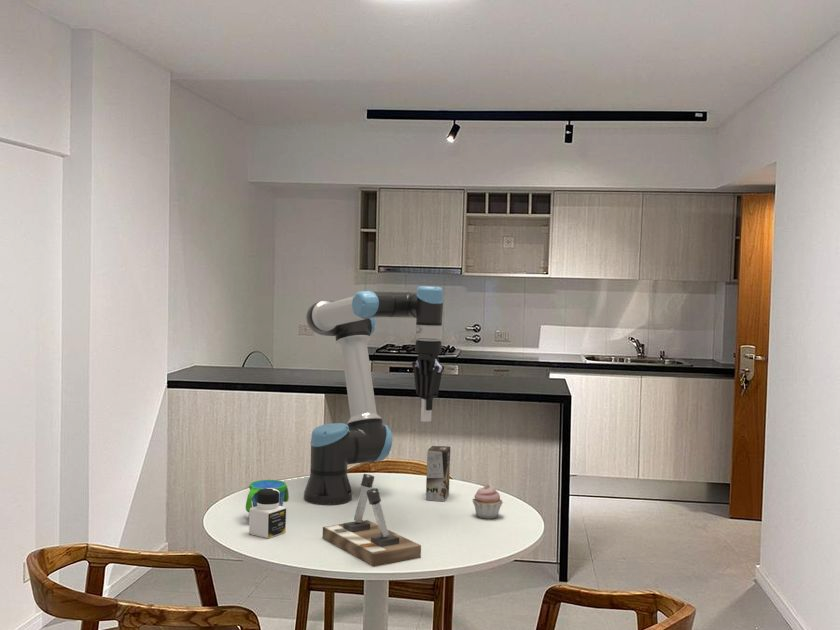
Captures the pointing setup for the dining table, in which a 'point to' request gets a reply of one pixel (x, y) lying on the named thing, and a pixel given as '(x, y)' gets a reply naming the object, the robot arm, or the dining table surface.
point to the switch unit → (371, 543)
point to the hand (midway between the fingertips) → (425, 420)
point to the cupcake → (487, 502)
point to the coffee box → (438, 473)
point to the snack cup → (264, 484)
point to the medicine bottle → (267, 515)
